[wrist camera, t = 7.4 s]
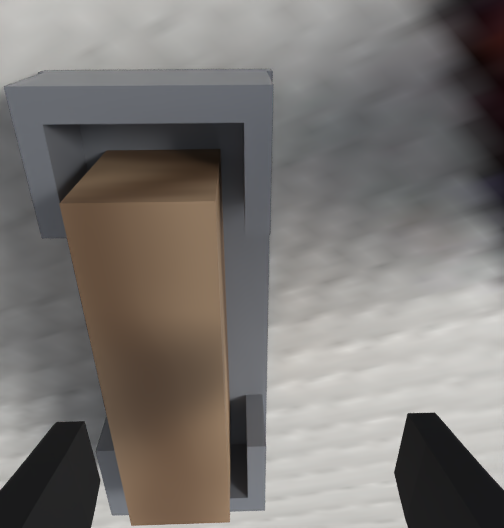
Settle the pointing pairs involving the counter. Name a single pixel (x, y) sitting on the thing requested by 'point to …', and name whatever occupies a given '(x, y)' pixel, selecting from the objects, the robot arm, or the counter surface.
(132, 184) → the slat
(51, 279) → the counter surface
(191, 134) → the cradle
